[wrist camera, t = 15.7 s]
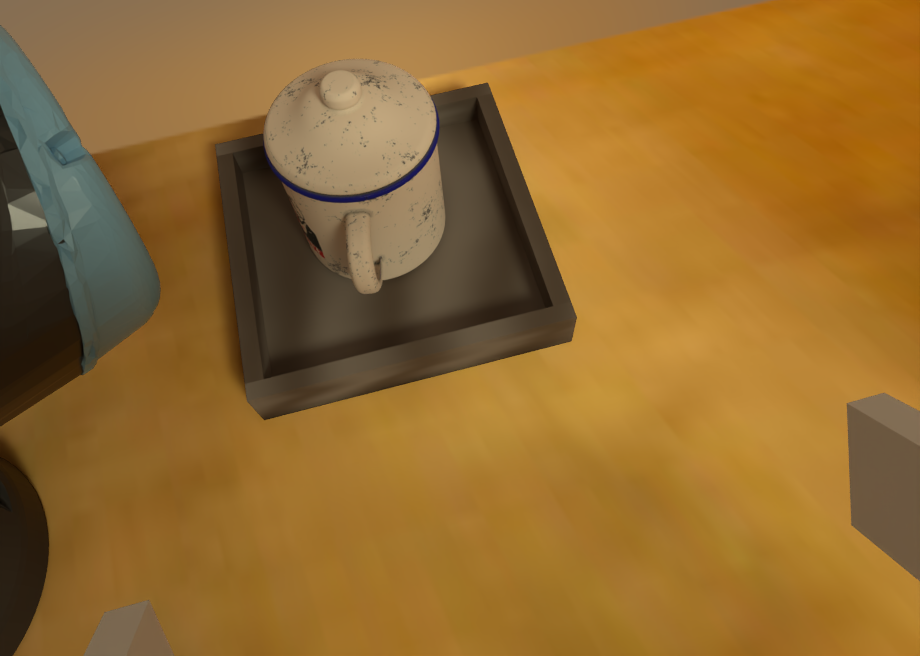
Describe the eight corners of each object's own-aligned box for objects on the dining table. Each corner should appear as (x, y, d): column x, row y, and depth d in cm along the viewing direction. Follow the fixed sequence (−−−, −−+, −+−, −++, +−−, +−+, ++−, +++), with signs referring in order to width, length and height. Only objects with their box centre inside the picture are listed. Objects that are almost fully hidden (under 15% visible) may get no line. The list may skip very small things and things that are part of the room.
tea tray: (264, 420, 39) (247, 401, 36) (231, 174, 47) (215, 144, 44) (571, 341, 40) (576, 317, 37) (488, 115, 48) (487, 82, 45)
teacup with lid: (305, 173, 45) (248, 24, 35) (444, 160, 45) (428, 6, 35) (301, 338, 40) (232, 220, 29) (459, 323, 40) (445, 200, 29)
